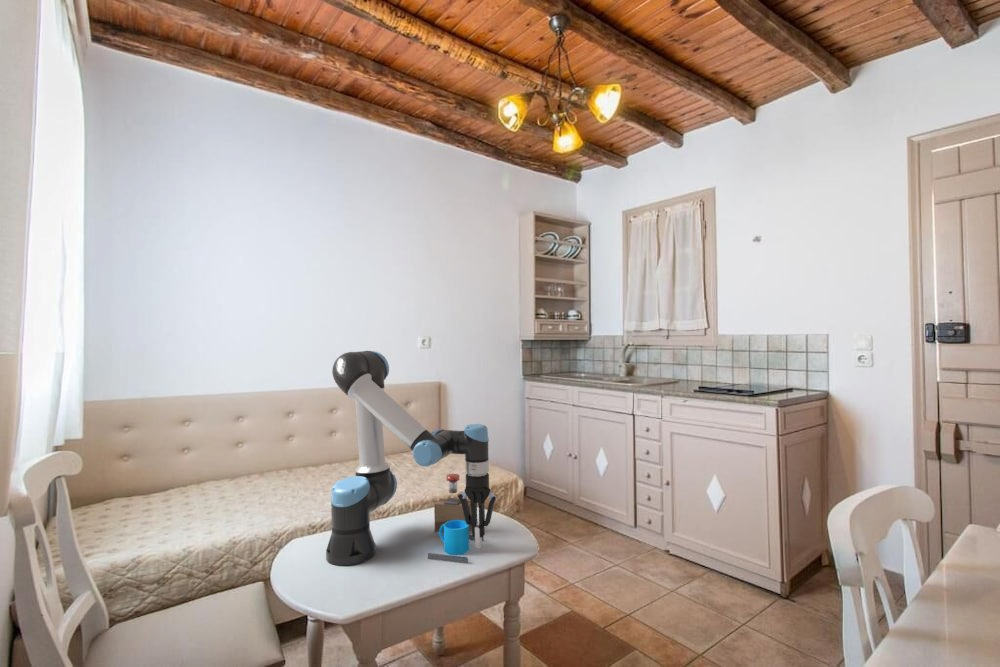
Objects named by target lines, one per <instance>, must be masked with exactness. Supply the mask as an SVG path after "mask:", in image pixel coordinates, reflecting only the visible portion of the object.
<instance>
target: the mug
mask: <svg viewBox="0 0 1000 667" xmlns="http://www.w3.org/2000/svg"><path fill="white" fill-rule="evenodd" d="M443 528H444V533H443V532H442V531H443ZM438 534H439V537H440V540H441V541H442V543H443V545H444V546H443V551H444V553H445V554H446V555H451V556H461V555H465V554H467V553H468V552H469V551H470V540H469V535H470V532H469V525H467V524H466V521H463V520H452V521H448V522H446V523H445V524H443V525H442V526H441V527H440V529H439V532H438Z"/></svg>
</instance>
